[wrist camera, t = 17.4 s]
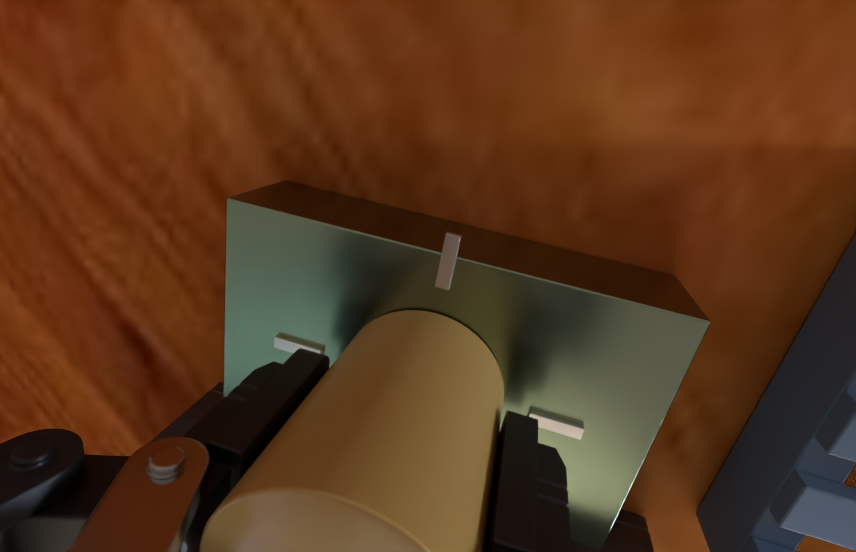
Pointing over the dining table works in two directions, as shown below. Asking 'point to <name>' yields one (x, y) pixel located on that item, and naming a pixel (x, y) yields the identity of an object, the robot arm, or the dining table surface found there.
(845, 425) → the drying rack
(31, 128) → the dining table surface
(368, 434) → the tap knob
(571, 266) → the tap panel
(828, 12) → the dining table surface
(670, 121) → the dining table surface
